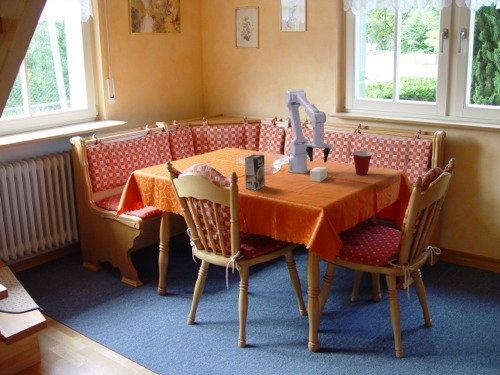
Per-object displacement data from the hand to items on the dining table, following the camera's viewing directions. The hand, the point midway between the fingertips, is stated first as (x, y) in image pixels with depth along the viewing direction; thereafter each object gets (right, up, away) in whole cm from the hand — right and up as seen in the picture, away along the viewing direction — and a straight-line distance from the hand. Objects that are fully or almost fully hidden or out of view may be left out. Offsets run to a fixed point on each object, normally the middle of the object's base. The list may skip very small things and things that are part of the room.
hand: (318, 161), depth 322 cm
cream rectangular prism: (0, -9, +3) cm, 9 cm away
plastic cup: (+24, -6, +10) cm, 27 cm away
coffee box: (-33, -13, -8) cm, 36 cm away
